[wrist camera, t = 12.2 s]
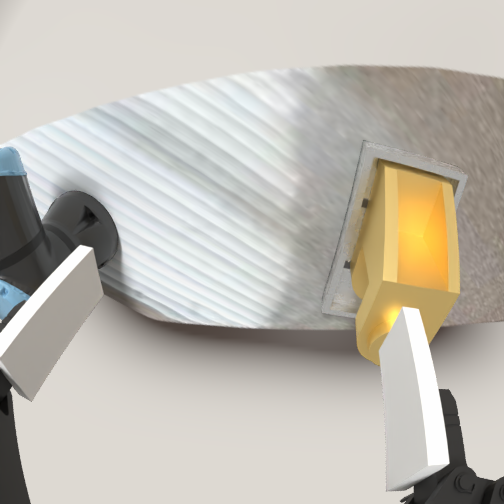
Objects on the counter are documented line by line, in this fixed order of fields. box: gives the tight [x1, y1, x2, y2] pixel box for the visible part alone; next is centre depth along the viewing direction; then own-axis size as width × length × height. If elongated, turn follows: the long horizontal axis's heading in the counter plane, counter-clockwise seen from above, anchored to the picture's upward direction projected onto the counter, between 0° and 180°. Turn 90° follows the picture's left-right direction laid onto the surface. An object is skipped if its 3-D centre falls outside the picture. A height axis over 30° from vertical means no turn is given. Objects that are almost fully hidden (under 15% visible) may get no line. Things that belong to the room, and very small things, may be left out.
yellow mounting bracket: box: [350, 158, 460, 366], centre depth 35 cm, size 20×9×16 cm, turn 175°
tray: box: [322, 140, 468, 318], centre depth 42 cm, size 14×26×4 cm, turn 175°
